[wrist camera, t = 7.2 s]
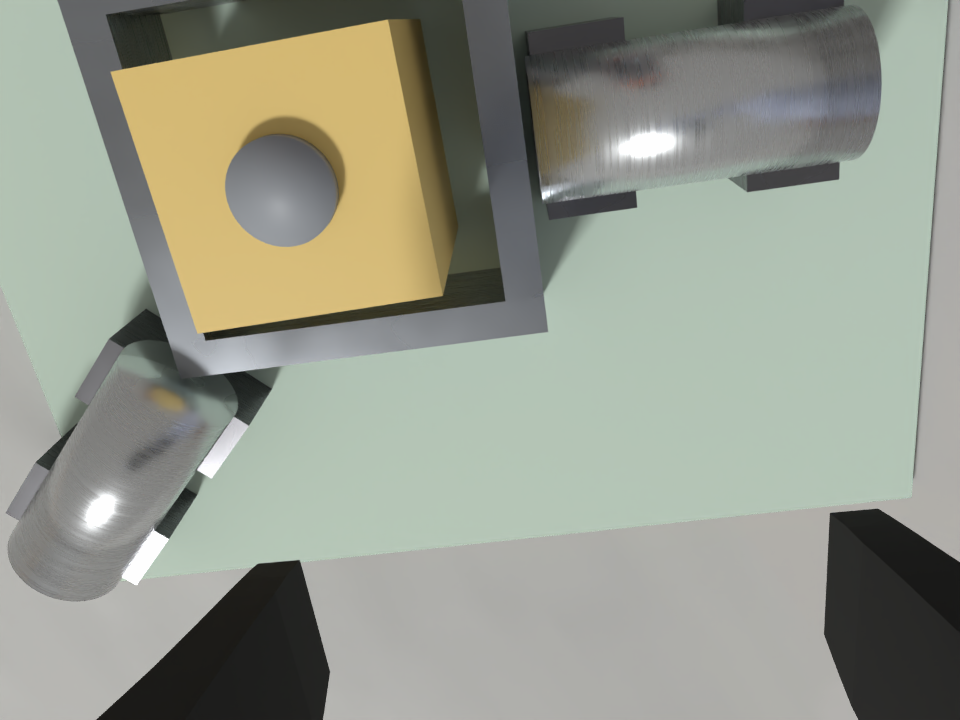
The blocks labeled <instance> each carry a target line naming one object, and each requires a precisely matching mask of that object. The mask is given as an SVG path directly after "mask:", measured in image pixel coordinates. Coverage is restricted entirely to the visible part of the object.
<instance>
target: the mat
mask: <svg viewBox="0 0 960 720" xmlns="http://www.w3.org/2000/svg"><path fill="white" fill-rule="evenodd" d="M507 3H508V11H509V19H510V27H511V35H512V43H513V51H514V59H515V67H516V75H517V83H518V91H519V99H520V107H521V116H522V124H523V132H524V140H525V148H526V156H527V164H528V172H529V180H530V188H531V196H532V204H533V212H534V220H535V228H536V237H537V245H538V253H539V261H540V269H541V277H542V285H543V293H544V301H545V309H546V317H547V325H548V332H544V333H537V334H529V335H521V336H513V337H505V338H498V339H490V340H482V341H474V342H466V343H458V344H451V345H443V346H435V347H427V348H419V349H412V350H404V351H396V352H388V353H380V354H372V355H365V356H357V357H349V358H341V359H333V360H326V361H318V362H310V363H302V364H294V365H286V366H279V367H271V368H263V369H255V370H247V371H245V372H246V373H248V374H250V375H251V376H253V377H254V378H256V379H257V380H259V381H261V382H262V383H264V384H265V385H267V386H268V387H270V388H271V389H272V390H271V392H270V393H269V395H268V396H267V398H266V400H265V401H264V403H263V404H262V406H261V408H260V409H259V411H258V412H257V414H256V416H255V417H254V419H253V420H252V422H251V424H250V425H249V427H248V428H247V429H246V431H245V432H244V434H243V435H242V437H241V438H240V439H239V441H238V442H237V444H236V445H235V446H234V448H233V449H232V451H231V452H230V454H229V455H228V456H227V458H226V459H225V461H224V462H223V463H222V465H221V466H220V468H219V469H218V470H217V472H216V473H215V475H214V476H213V478H212V479H211V478H209V477H208V476H206V475H204V474H203V473H201V472H199V471H198V470H197V471H196V472H195V474H194V475H193V476H192V478H191V479H190V481H189V482H188V484H187V485H186V487H185V488H187V489H189V490H190V491H192V492H194V493H195V494H197V496H196V498H195V500H194V501H193V503H192V504H191V506H190V507H189V509H188V510H187V512H186V514H185V515H184V517H183V518H182V520H181V521H180V523H179V524H178V526H177V527H176V529H175V531H174V532H173V534H172V535H171V537H170V538H169V540H168V541H167V543H166V544H165V545H164V547H163V548H162V550H161V551H160V553H159V554H158V555H157V557H156V558H155V560H154V561H153V562H152V564H151V565H150V567H149V568H148V570H147V571H146V572H145V574H144V575H143V577H142V578H141V579H148V578H158V577H167V576H176V575H186V574H195V573H205V572H214V571H224V570H233V569H242V568H252V567H255V566H256V565H257V564H259V563H270V562H282V561H293V560H300V562H309V561H318V560H327V559H337V558H346V557H356V556H365V555H375V554H384V553H393V552H403V551H412V550H422V549H431V548H441V547H450V546H459V545H469V544H478V543H488V542H497V541H507V540H516V539H526V538H535V537H544V536H554V535H563V534H573V533H582V532H592V531H601V530H610V529H620V528H629V527H639V526H648V525H658V524H667V523H677V522H686V521H695V520H705V519H714V518H724V517H733V516H743V515H752V514H761V513H771V512H780V511H790V510H799V509H809V508H818V507H827V506H837V505H846V504H856V503H865V502H875V501H884V500H894V499H903V498H911V497H912V483H913V470H914V456H915V443H916V429H917V416H918V402H919V389H920V375H921V362H922V348H923V335H924V321H925V308H926V294H927V281H928V267H929V254H930V240H931V227H932V213H933V200H934V186H935V172H936V159H937V145H938V132H939V118H940V105H941V91H942V78H943V64H944V51H945V37H946V24H947V10H948V0H844V6H846V5H857V6H859V7H860V8H861V9H862V10H864V12H865V13H866V14H867V16H868V18H869V19H870V21H871V23H872V26H873V28H874V31H875V35H876V38H877V42H878V47H879V53H880V61H881V75H882V89H881V103H880V111H879V116H878V122H877V125H876V129H875V132H874V135H873V138H872V140H871V143H870V145H869V147H868V148H867V150H866V151H865V153H864V154H863V155H862V156H861V157H859V158H858V159H856V160H850V161H843V162H840V170H839V180H832V181H825V182H818V183H811V184H803V185H796V186H789V187H782V188H775V189H768V190H761V191H753V192H746V191H745V190H743V189H742V188H741V187H739V186H738V185H736V184H735V183H734V182H732V181H731V180H730V179H728V178H723V179H716V180H709V181H702V182H695V183H688V184H681V185H674V186H667V187H660V188H653V189H646V190H639V191H636V197H637V208H632V209H625V210H618V211H610V212H603V213H596V214H589V215H582V216H575V217H568V218H560V219H553V220H549V217H548V213H547V208H546V204H542V199H541V192H540V185H539V178H538V170H537V163H536V155H535V147H534V139H533V131H532V122H531V114H530V105H529V96H528V87H527V78H526V68H525V56H528V53H527V45H526V36H525V31H527V30H534V29H540V28H546V27H552V26H559V25H565V24H571V23H577V22H583V21H590V20H596V19H602V18H608V17H624V31H625V40H630V39H637V38H643V37H649V36H656V35H662V34H668V33H675V32H681V31H687V30H694V29H700V28H706V27H713V26H718V11H717V0H507ZM160 17H161V20H162V24H163V27H164V31H165V34H166V38H167V41H168V45H169V49H170V52H171V56H172V59H173V60H176V59H181V58H186V57H192V56H197V55H202V54H207V53H213V52H218V51H223V50H229V49H234V48H239V47H245V46H250V45H255V44H261V43H266V42H271V41H277V40H282V39H287V38H292V37H298V36H303V35H308V34H314V33H319V32H324V31H330V30H335V29H340V28H346V27H351V26H356V25H361V24H367V23H372V22H377V21H383V20H389V19H420V21H421V26H422V32H423V37H424V43H425V48H426V54H427V59H428V64H429V70H430V75H431V81H432V86H433V92H434V97H435V102H436V108H437V113H438V119H439V124H440V130H441V135H442V140H443V146H444V151H445V157H446V162H447V168H448V173H449V178H450V184H451V189H452V195H453V200H454V206H455V211H456V216H457V222H458V231H457V235H456V240H455V244H454V249H453V253H452V258H451V262H450V266H449V271H448V274H456V273H463V272H470V271H478V270H485V269H492V268H500V267H501V266H500V259H499V252H498V245H497V238H496V231H495V224H494V218H493V211H492V204H491V197H490V190H489V183H488V176H487V169H486V162H485V155H484V148H483V141H482V134H481V127H480V120H479V114H478V107H477V100H476V93H475V86H474V79H473V72H472V65H471V58H470V51H469V44H468V37H467V30H466V23H465V16H464V10H463V3H462V0H245V1H239V2H233V3H228V4H222V5H216V6H210V7H204V8H198V9H192V10H186V11H180V12H174V13H168V14H162V15H160ZM0 286H1V288H2V291H3V293H4V296H5V298H6V301H7V303H8V306H9V308H10V311H11V313H12V316H13V318H14V321H15V323H16V326H17V328H18V330H19V333H20V335H21V338H22V340H23V343H24V345H25V348H26V350H27V353H28V355H29V358H30V360H31V363H32V365H33V368H34V370H35V373H36V375H37V378H38V380H39V383H40V385H41V388H42V390H43V392H44V395H45V397H46V400H47V402H48V405H49V407H50V410H51V412H52V415H53V417H54V420H55V422H56V425H57V427H58V430H59V432H60V435H61V437H63V436H64V435H65V434H66V433H67V432H68V431H69V430H70V429H71V428H73V427H74V426H75V425H76V424H78V422H79V421H80V419H81V417H82V416H83V414H84V413H85V411H86V409H87V408H88V406H89V405H87V404H86V403H84V402H82V401H81V400H79V399H77V398H76V397H75V395H76V393H77V392H78V390H79V388H80V386H81V385H82V383H83V381H84V380H85V378H86V376H87V375H88V373H89V371H90V370H91V368H92V366H93V365H94V363H95V361H96V359H97V358H98V356H99V354H100V353H101V351H102V349H103V348H104V346H105V344H106V343H107V341H108V339H109V338H110V337H112V336H113V335H114V334H115V333H117V332H118V331H119V330H120V329H121V328H123V327H124V326H125V325H126V324H128V323H129V322H130V321H131V320H133V319H134V318H135V317H136V316H138V315H139V314H140V313H141V312H142V311H144V310H145V309H148V310H149V311H151V312H152V313H154V314H155V315H157V316H159V317H160V314H159V310H158V307H157V304H156V301H155V298H154V295H153V292H152V289H151V286H150V283H149V280H148V277H147V274H146V271H145V268H144V264H143V261H142V258H141V255H140V252H139V249H138V246H137V243H136V240H135V237H134V234H133V231H132V228H131V225H130V221H129V218H128V215H127V212H126V209H125V206H124V203H123V200H122V197H121V194H120V191H119V188H118V185H117V182H116V179H115V175H114V172H113V169H112V166H111V163H110V160H109V157H108V154H107V151H106V148H105V145H104V142H103V139H102V136H101V133H100V129H99V126H98V123H97V120H96V117H95V114H94V111H93V108H92V105H91V102H90V99H89V96H88V93H87V90H86V86H85V83H84V80H83V77H82V74H81V71H80V68H79V65H78V62H77V59H76V56H75V53H74V50H73V47H72V44H71V40H70V37H69V34H68V31H67V28H66V25H65V22H64V19H63V16H62V13H61V10H60V7H59V4H58V1H57V0H0ZM160 318H161V317H160ZM120 581H128V580H126V579H124V578H122V579H121V580H120Z"/></svg>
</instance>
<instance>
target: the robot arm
mask: <svg viewBox="0 0 960 720" xmlns="http://www.w3.org/2000/svg"><path fill="white" fill-rule="evenodd" d="M824 635H825V638H826V641H827V643H828V646H829V649H830V651H831V654H832V657H833V660H834V662H835V665H836V668H837V670H838V673H839V676H840V678H841V681H842V683H843V686H844V688H845V691H846V693H847V696H848V698H849V701H850V703H851V706H852V708H853V710H854V712H855V714H856V716H857V718H858V720H960V562H959V561H957V560H956V559H954V558H953V557H951V556H949V555H948V554H946V553H945V552H943V551H942V550H940V549H939V548H937V547H936V546H934V545H933V544H931V543H930V542H929V541H927V540H926V539H924V538H923V537H921V536H920V535H918V534H917V533H915V532H914V531H912V530H911V529H909V528H907V527H906V526H904V525H903V524H901V523H900V522H898V521H897V520H895V519H894V518H892V517H891V516H889V515H887V514H886V513H884V512H882V511H881V510H879V509H870V510H858V511H847V512H836V513H830V524H829V544H828V565H827V586H826V606H825V627H824ZM329 675H330V670H329V667H328V663H327V659H326V656H325V652H324V648H323V644H322V641H321V637H320V633H319V630H318V626H317V622H316V618H315V615H314V611H313V607H312V604H311V600H310V596H309V592H308V589H307V585H306V581H305V578H304V574H303V570H302V567H301V563H300V560H293V561H282V562H270V563H259V564H257V565H256V566H255V567H254V568H252V569H251V570H250V571H249V572H248V573H247V574H246V575H245V576H244V577H243V578H242V579H241V580H240V581H239V582H238V583H237V584H236V585H235V586H234V587H233V588H232V589H231V590H230V591H229V592H228V593H227V594H226V595H225V596H224V597H223V598H222V599H221V600H220V601H219V602H218V603H217V604H216V605H215V606H214V607H213V608H212V609H211V610H210V611H209V612H208V613H207V614H206V615H205V616H204V617H203V618H202V619H201V620H200V621H199V622H198V624H197V625H195V626H194V627H193V628H192V629H191V630H190V631H189V632H188V633H187V634H186V635H185V636H184V637H183V638H182V639H181V640H180V641H179V642H178V643H177V644H176V645H175V646H174V647H173V648H172V649H171V650H170V651H169V652H168V653H167V654H166V655H165V656H164V657H163V658H162V659H161V660H160V661H159V662H158V663H157V664H156V665H155V666H154V667H153V668H152V669H151V670H150V671H149V672H148V673H147V674H146V675H145V676H143V677H142V678H141V679H140V680H139V681H138V682H137V683H136V684H135V685H134V686H133V687H131V688H130V689H129V690H128V691H127V692H126V693H125V694H124V695H123V696H122V697H121V698H120V699H118V700H117V701H116V702H115V703H114V704H113V705H112V706H111V707H110V708H109V709H108V710H106V711H105V712H104V713H103V714H102V715H101V716H100V717H99V718H98V719H97V720H323V715H324V709H325V702H326V695H327V688H328V681H329Z"/></svg>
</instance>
